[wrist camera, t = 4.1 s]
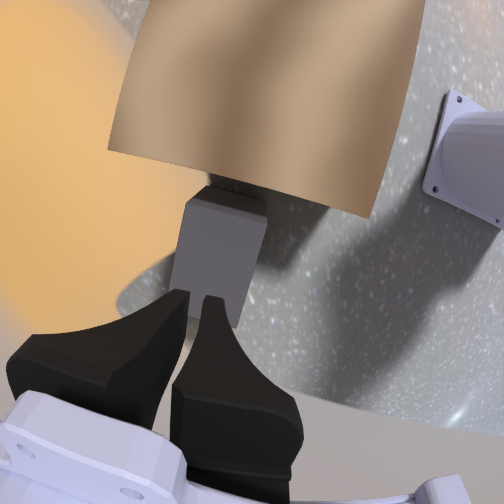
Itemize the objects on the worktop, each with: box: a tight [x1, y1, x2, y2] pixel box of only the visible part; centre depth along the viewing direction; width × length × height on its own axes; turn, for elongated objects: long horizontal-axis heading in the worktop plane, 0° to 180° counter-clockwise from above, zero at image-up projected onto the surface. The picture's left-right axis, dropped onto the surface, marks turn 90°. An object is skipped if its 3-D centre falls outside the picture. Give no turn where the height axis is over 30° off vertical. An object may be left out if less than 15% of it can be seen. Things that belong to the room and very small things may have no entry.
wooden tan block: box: [108, 0, 425, 219], centre depth 13 cm, size 13×14×1 cm
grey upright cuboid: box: [168, 185, 267, 329], centre depth 19 cm, size 4×6×6 cm, turn 165°
